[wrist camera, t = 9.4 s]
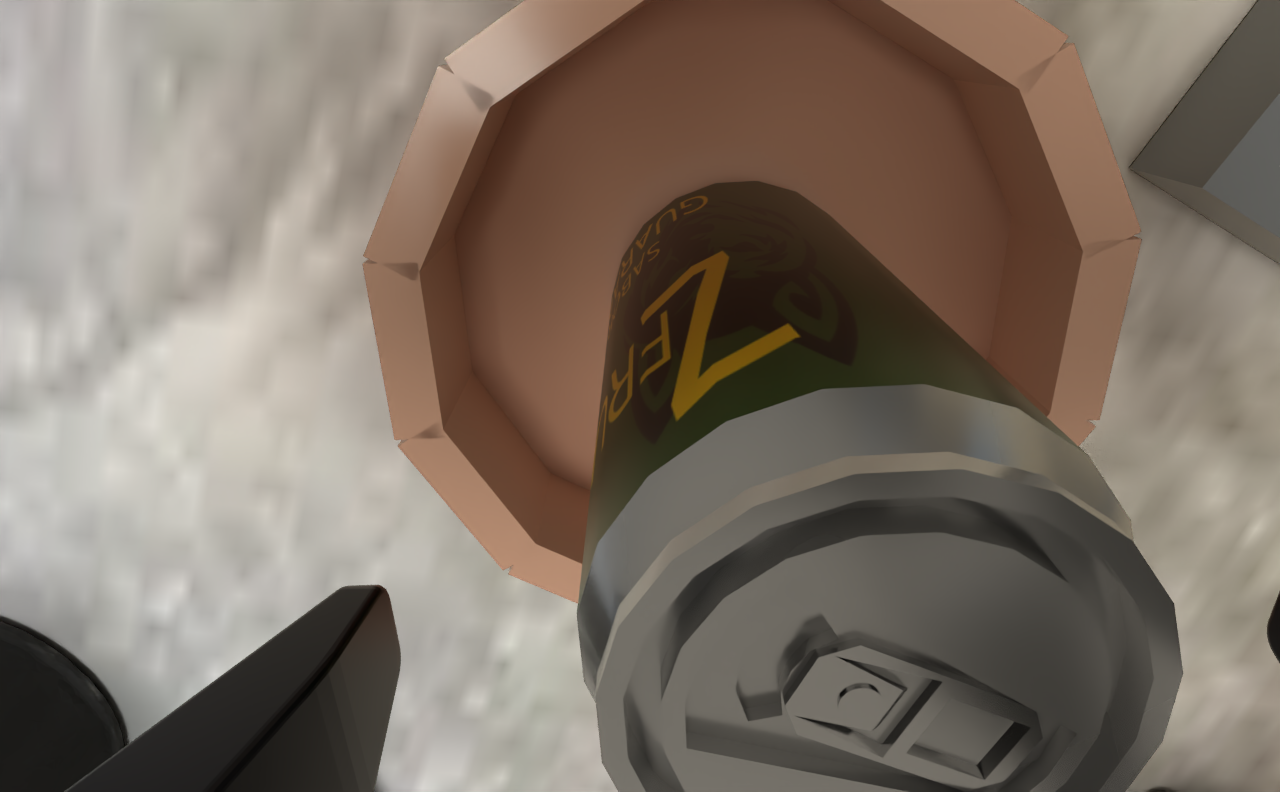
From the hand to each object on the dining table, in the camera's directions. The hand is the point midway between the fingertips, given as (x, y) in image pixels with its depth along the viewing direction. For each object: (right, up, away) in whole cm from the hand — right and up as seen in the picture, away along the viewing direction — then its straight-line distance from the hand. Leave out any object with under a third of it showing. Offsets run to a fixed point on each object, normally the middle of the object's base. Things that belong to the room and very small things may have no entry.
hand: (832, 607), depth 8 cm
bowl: (0, +5, +11) cm, 12 cm away
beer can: (0, +4, +10) cm, 11 cm away
